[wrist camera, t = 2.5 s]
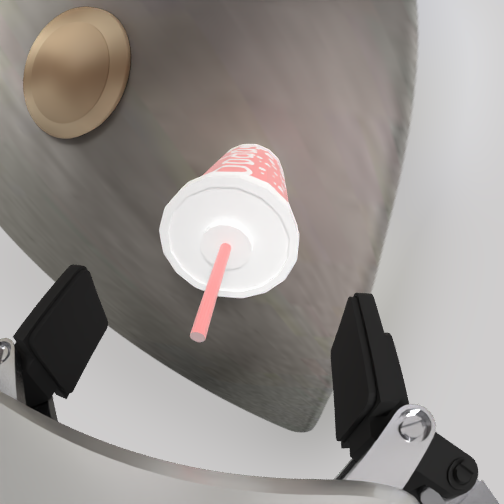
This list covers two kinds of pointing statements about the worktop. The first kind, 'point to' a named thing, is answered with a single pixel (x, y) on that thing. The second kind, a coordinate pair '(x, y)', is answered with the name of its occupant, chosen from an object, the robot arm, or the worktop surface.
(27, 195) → the worktop surface
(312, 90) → the worktop surface
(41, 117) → the plate
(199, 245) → the beverage cup
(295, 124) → the worktop surface
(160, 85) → the worktop surface
